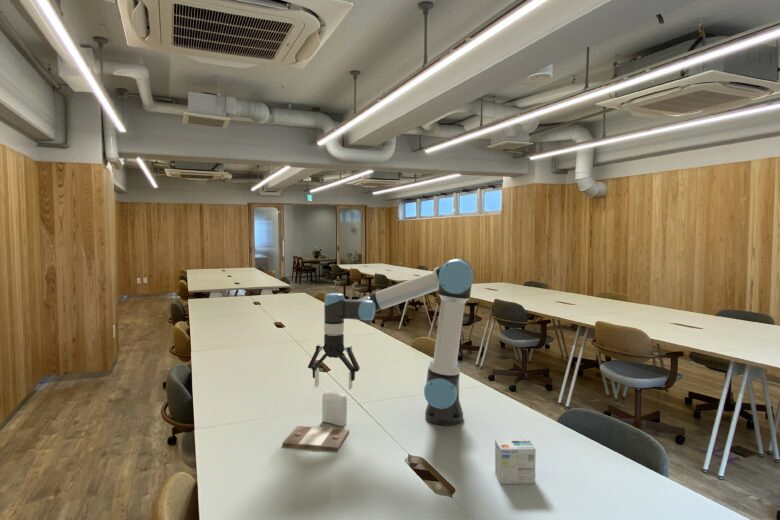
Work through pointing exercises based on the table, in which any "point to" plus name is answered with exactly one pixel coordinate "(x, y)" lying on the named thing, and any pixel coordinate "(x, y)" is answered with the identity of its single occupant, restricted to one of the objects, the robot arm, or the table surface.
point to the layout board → (316, 438)
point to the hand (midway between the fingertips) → (333, 387)
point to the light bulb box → (515, 461)
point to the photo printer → (334, 408)
